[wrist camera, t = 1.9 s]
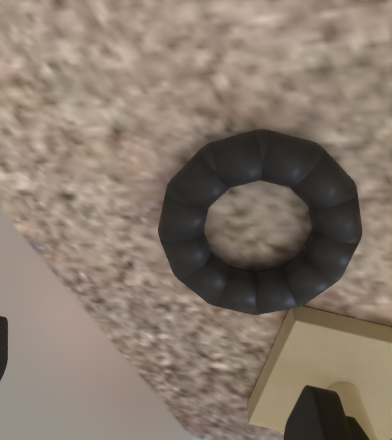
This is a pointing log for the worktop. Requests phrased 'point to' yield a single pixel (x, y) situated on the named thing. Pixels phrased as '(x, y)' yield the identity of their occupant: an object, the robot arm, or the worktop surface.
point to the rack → (327, 370)
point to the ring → (274, 173)
